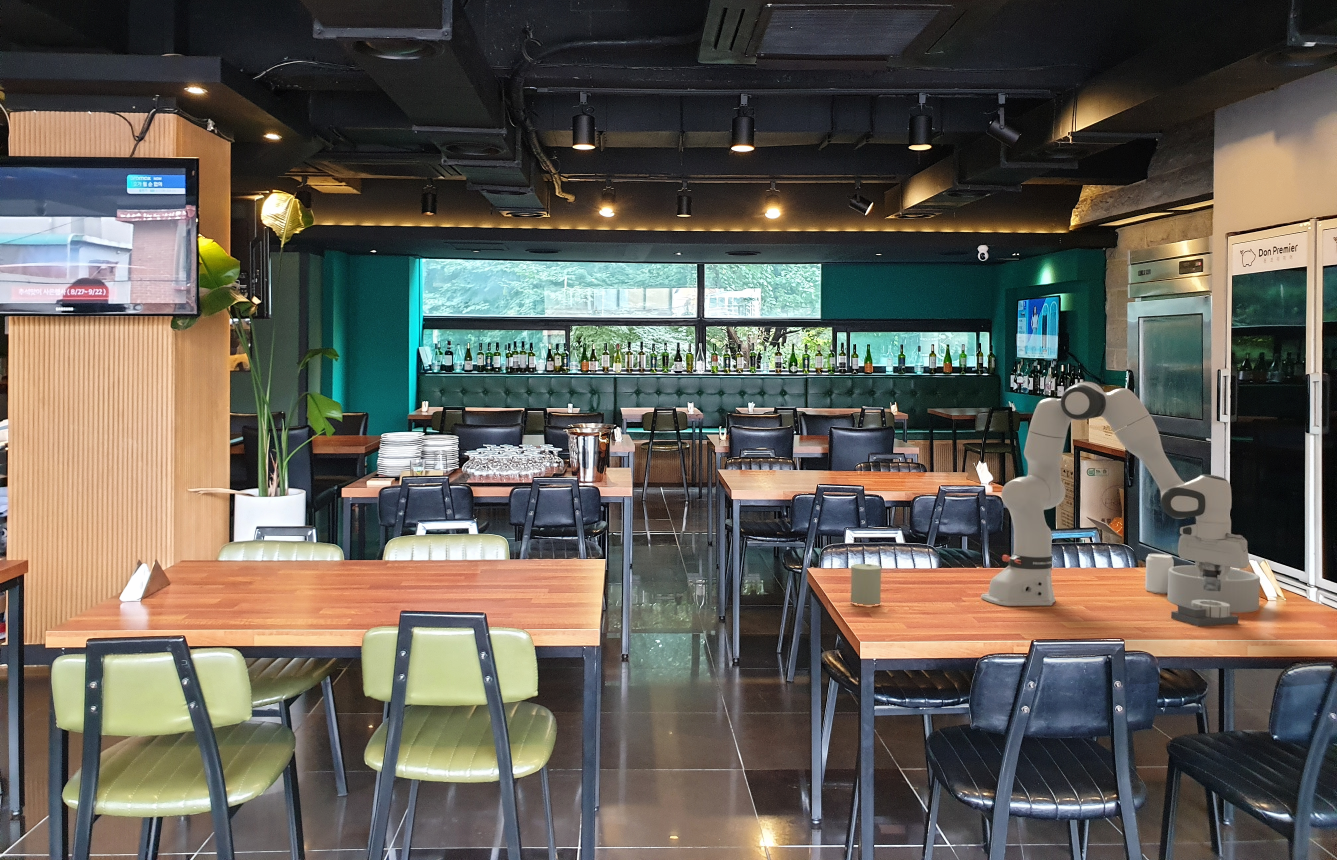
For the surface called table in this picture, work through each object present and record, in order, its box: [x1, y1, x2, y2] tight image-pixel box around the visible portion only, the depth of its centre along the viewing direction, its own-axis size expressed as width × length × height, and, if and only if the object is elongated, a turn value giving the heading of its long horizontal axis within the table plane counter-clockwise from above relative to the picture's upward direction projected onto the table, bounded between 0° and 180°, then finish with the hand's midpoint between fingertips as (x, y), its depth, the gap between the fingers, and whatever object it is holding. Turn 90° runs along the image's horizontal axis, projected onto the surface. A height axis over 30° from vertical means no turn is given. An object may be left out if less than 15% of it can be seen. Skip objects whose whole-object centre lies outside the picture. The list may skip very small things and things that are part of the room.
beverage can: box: [1144, 553, 1175, 595], centre depth 327 cm, size 8×8×12 cm
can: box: [850, 563, 882, 605], centre depth 305 cm, size 9×9×12 cm
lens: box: [1203, 562, 1222, 591], centre depth 286 cm, size 5×5×8 cm
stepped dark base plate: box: [1170, 600, 1239, 627], centre depth 287 cm, size 14×10×5 cm
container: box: [1167, 564, 1261, 614], centre depth 310 cm, size 25×25×10 cm
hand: (1212, 579), depth 287 cm, fingers closed on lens, 5 cm apart
